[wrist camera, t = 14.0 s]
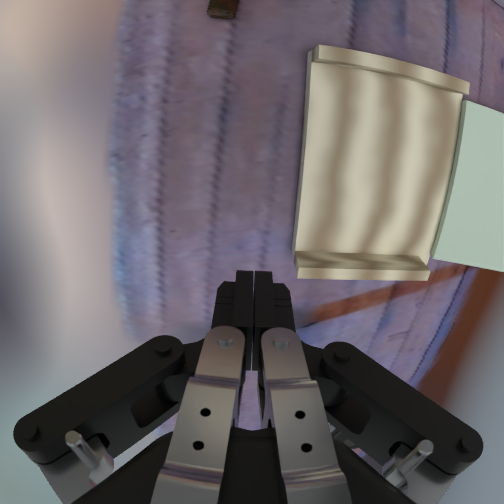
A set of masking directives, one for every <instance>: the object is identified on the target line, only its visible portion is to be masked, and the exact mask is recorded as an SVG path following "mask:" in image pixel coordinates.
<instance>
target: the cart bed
mask: <svg viewBox="0 0 504 504" xmlns="http://www.w3.org/2000/svg"><path fill="white" fill-rule="evenodd" d="M469 85H470V83H469V82H466V81H464V80H461V79H458V78H456V77H453V76H450V75H447V74H444V73H441V72H438V71H435V70H432V69H429V68H425V67H422V66H419V65H415V64H412V63H408V62H404V61H401V60H397V59H393V58H389V57H384V56H380V55H375V54H371V53H366V52H361V51H356V50H350V49H345V48H339V47H332V46H325V45H318V46H317V47H315V48H314V49H312V50H311V51H309V52H308V56H307V75H306V91H305V107H304V121H303V134H302V147H301V159H300V170H299V182H298V192H297V203H296V213H295V222H294V232H293V241H292V254H293V259H294V264H295V269H296V274H297V278H305V279H346V280H428V277H429V274H430V270H429V268H428V267H427V266H426V265H427V263H428V260H429V257H430V253H431V250H432V247H433V244H434V240H435V237H436V233H437V230H438V226H439V222H440V219H441V215H442V211H443V207H444V203H445V199H446V194H447V190H448V185H449V181H450V176H451V171H452V166H453V161H454V155H455V149H456V143H457V137H458V130H459V122H460V114H461V105H462V95H463V94H467V95H469Z"/></svg>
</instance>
